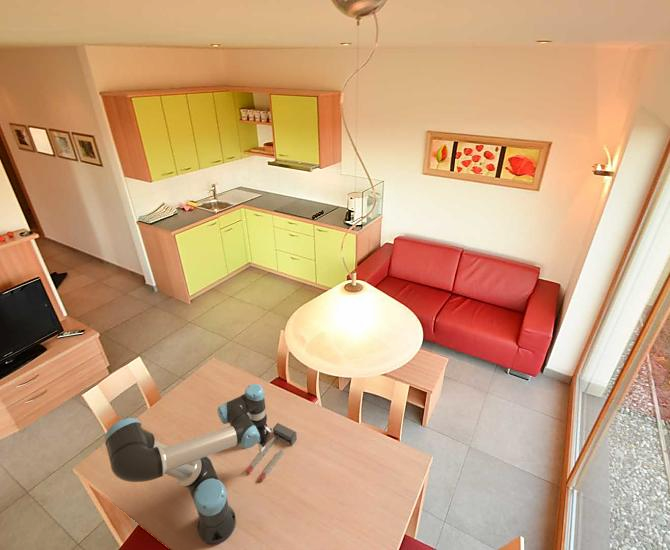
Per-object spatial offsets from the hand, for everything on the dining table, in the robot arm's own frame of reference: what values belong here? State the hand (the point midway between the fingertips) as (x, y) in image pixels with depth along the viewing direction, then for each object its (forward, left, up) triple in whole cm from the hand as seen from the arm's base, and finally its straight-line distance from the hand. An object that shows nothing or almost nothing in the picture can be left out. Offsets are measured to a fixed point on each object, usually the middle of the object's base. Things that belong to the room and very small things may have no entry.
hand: (262, 449), depth 180 cm
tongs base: (+7, 0, -12) cm, 14 cm away
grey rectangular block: (+17, 0, -12) cm, 21 cm away
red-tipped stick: (+1, -4, -12) cm, 12 cm away
